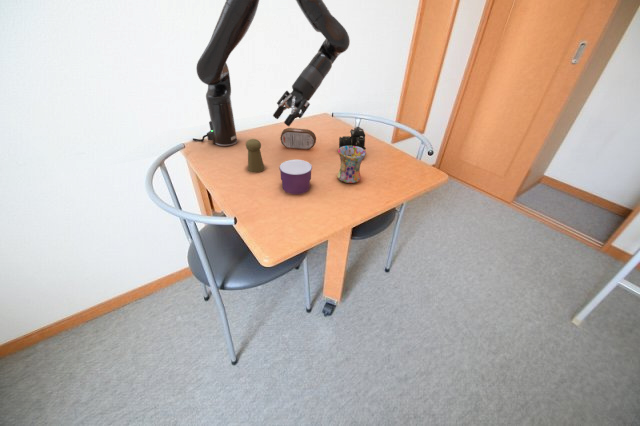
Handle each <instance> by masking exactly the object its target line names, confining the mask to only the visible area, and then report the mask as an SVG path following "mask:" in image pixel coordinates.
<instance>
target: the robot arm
mask: <svg viewBox="0 0 640 426" xmlns="http://www.w3.org/2000/svg"><path fill="white" fill-rule="evenodd" d="M295 2H296V3H297V6H298V7H299V9H300V11H301V12H302V14H303V15H304V17H305V18H306V20H307V21H308V23H309V24H310V26H311V27H312V29H313V30H314V31H315V32H317V33H321V35H322V36H323V37H324V38H325V39H324V41H323V42H322V43H321V45H320V47H319V48H318V51H317V53H315V55H314V56H313V57H312V58H311V60H310V61H309V63H308V64H307V65H306V66H305V68H304V69H303V70H302V71H301V73H299V75H298V77H297V78H296V79H295V81H294V82H293V84H292V85H291V89H292V91H291V92H289V91H288V90H286V91H284V93H283V94H282V96H281V97H280V98H279V99H278V101H277V102H276V104H277V108H276V110H275V111H274V113H273V114H272V116H273V117H274V118H275V120H278V119H279V118H280V117H281V116H282V114H283V113H284V111H287V109H288V110H290V109H291V111H290V113H289V114H288V116H287V117H286V118H285V120H284V121H283V123H284V125H286V126H287V127H290V126H291V125H292V124H293V122H294V121H295V120H296V119H297V118H299V119H301V118H302V117H303V116H304V114H305V113H306V111H307V110H308V109H309V107H310V105H311V104H310V102H309V101H310V100H311V98H312V97H313V96H314V94H315V93H316V92H317V90H318V89H319V88H320V87H321V85H322V82H323V81H324V79H325V78H326V77H327V76H328V74H329V73H330V71H331V70H332V67H333V64H334V63H335V61H336V60H337V58H338V57H339V56H340V55H341V54H343V53H345V52H346V51H347V50H348V49H349V47H350V41H351V39H350V35H349V32H348V31H347V29H346V28H345V27H344V26H343V24H341V22H339V20H338V19H337V18H336V17H335V16H333V14H332V13H331V11H330V10H329V8H328V7H327V5H326V3H325V2H324V1H323V0H295ZM259 3H260V0H225V2H224V5H223V7H222V9H221V11H220V14H219V17H218V20H217V21H216V24H215V26H214V29H213V32H212V34H211V37H210V39H209V42H208V44H207V45H206V47H205V48H204V51H203V52H202V54H201V56H200V57H199V59H198V60H197V63H196V69H195V70H196V74H197V77H198V79H199V80H200V81H201V82H202V83H203V84H204V85H207V90H206V93H205V99H206V104H207V105H206V106H207V111H208V114H209V119H210V120H209V122H208V124H209V129H210V130H209V131H208V132H207V133H206V134H204V135H203V136H202V138H200V139H199V138H192V141H194V142H195V141H196V142H203V141H205V138H207V141H208V142H209V141H210V142H212V144H213V145H216V146H219V147H231V146H234V145H236V144H237V143H238V136H237V130H236V124H235V118H234V112H233V111H234V110H233V105H232V99H231V97H232V96H231V95H232V85H231V76H230V70H229V66H228V64H227V61H228V59H229V57H230V55H231V53H232V52H233V51H234V50H235V49H236V48H237V46H238V45H239V44H240V43H241V41H242V40H243V39H244V37H246V34H247V32H248V31H249V29H250V27H251V26H252V23H253V21H254V19H255V17H256V14H257V11H258V7H259Z"/></svg>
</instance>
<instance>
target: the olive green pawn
mask: <svg viewBox="0 0 640 426" xmlns="http://www.w3.org/2000/svg"><path fill="white" fill-rule="evenodd" d="M245 148H246V150H247V171H248V172H250V173H253V174H254V173H255V174H257V173H260V172H263V171H264V170H265V165H264V161H263V160H264V159H263V155H262V152H261V148H262V143H261V140H259V139H257V138H250V139H248V140H246V142H245Z"/></svg>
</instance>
